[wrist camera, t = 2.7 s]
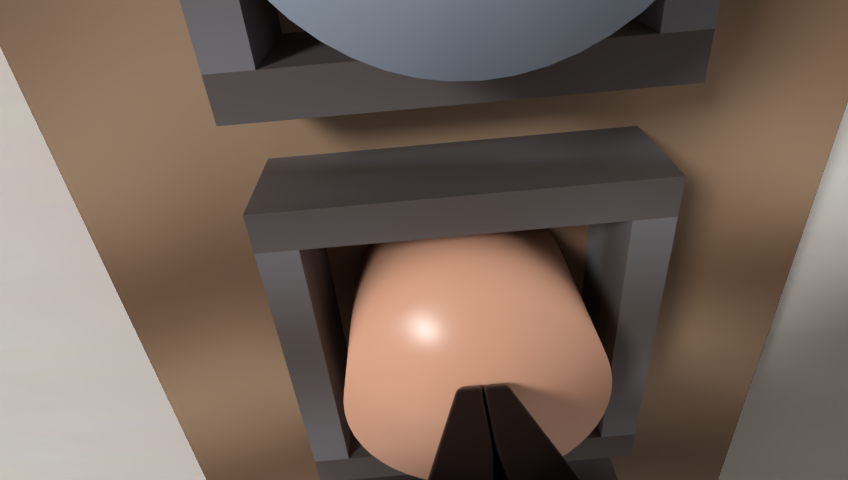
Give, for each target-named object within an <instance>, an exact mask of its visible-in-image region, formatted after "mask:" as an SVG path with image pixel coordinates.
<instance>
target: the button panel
mask: <svg viewBox="0 0 848 480" xmlns="http://www.w3.org/2000/svg"><path fill="white" fill-rule="evenodd" d="M0 47H1V49H2V51H3V53H4V55H5V57H6V59H7V62H8V64H9V66H10V68H11V70H12V72H13V74H14V76H15V78H16V80H17V83H18V85H19V87H20V89H21V91H22V93H23V95H24V97H25V99H26V101H27V104H28V106H29V108H30V110H31V112H32V114H33V116H34V118H35V120H36V122H37V125H38V127H39V129H40V131H41V133H42V135H43V137H44V139H45V141H46V144H47V146H48V148H49V150H50V152H51V154H52V156H53V158H54V160H55V162H56V165H57V167H58V169H59V171H60V173H61V175H62V177H63V179H64V181H65V183H66V186H67V188H68V190H69V192H70V194H71V196H72V198H73V200H74V202H75V204H76V207H77V209H78V211H79V213H80V215H81V217H82V219H83V221H84V223H85V225H86V228H87V230H88V232H89V234H90V236H91V238H92V240H93V242H94V244H95V246H96V249H97V251H98V253H99V255H100V257H101V259H102V261H103V263H104V265H105V267H106V270H107V272H108V274H109V276H110V278H111V280H112V282H113V284H114V286H115V288H116V291H117V293H118V295H119V297H120V299H121V301H122V303H123V305H124V307H125V309H126V312H127V314H128V316H129V318H130V320H131V322H132V324H133V326H134V328H135V330H136V333H137V335H138V337H139V339H140V341H141V343H142V345H143V347H144V349H145V351H146V354H147V356H148V358H149V360H150V362H151V364H152V366H153V368H154V370H155V372H156V375H157V377H158V379H159V381H160V383H161V385H162V387H163V389H164V391H165V394H166V396H167V398H168V400H169V402H170V404H171V406H172V408H173V410H174V412H175V415H176V417H177V419H178V421H179V423H180V425H181V427H182V429H183V431H184V433H185V436H186V438H187V440H188V442H189V444H190V446H191V448H192V450H193V452H194V454H195V457H196V459H197V461H198V463H199V465H200V467H201V469H202V471H203V473H204V475H205V478H206V480H426V479H422V478H418V477H415V476H411V475H408V474H405V473H403V472H401V471H398V470H396V469H394V468H392V467H390V466H388V465H386V464H384V463H383V462H381V461H380V460H378V459H377V458H376V457H374V456H373V455H371V454H370V453H369V452H368V451H367V450H366V449H365V448H364V447H363V446H362V445H361V444H360V442H359V441H358V440H357V439H356V437H355V436H354V434H353V432H352V431H351V429H350V427H349V425H348V422H347V419H346V416H345V411H344V403H343V401H344V387H345V376H346V366H347V356H348V346H349V336H350V326H351V316H352V306H353V296H354V286H355V277H356V272H357V268H358V265H359V262H360V260H361V257H362V255H363V253H364V252H365V250H366V248H367V247H368V245H369V244H374V243H385V242H396V241H408V240H419V239H430V238H442V237H453V236H465V235H476V234H487V233H499V232H510V231H521V230H533V229H544V228H546V229H547V230H548V231H549V232H550V234H551V235H552V236H553V238H554V239H555V241H556V243H557V245H558V246H559V248H560V250H561V253H562V255H563V257H564V259H565V262H566V264H567V266H568V269H569V271H570V273H571V275H572V278H573V280H574V282H575V284H576V287H577V289H578V291H579V294H580V296H581V298H582V300H583V303H584V305H585V307H586V309H587V312H588V314H589V316H590V319H591V321H592V323H593V325H594V328H595V330H596V332H597V334H598V337H599V339H600V341H601V344H602V346H603V348H604V350H605V353H606V355H607V358H608V361H609V364H610V366H611V373H612V391H611V395H610V400H609V403H608V406H607V408H606V410H605V413H604V415H603V416H602V418H601V420H600V421H599V423H598V424H597V426H596V427H595V428H594V429H593V431H592V432H591V433H590V434H589V435H588V437H586V438H585V439H584V440H583V441H582V442H581V443H580V444H579V445H578V446H577V447H575V448H574V449H573V450H571V451H570V452H569V453H567V454H566V455H564V456H563V457H564V459H565V460H566V461H567V462H568V464H569V465H570V466H571V468H572V469H573V470H574V472H575V473H576V474H577V475H578V477H579V478H580V479H581V480H718V478H719V475H720V472H721V469H722V466H723V463H724V460H725V457H726V454H727V451H728V448H729V446H730V443H731V440H732V437H733V434H734V431H735V428H736V425H737V422H738V419H739V416H740V413H741V411H742V408H743V405H744V402H745V399H746V396H747V393H748V390H749V387H750V384H751V381H752V379H753V376H754V373H755V370H756V367H757V364H758V361H759V358H760V355H761V352H762V349H763V346H764V344H765V341H766V338H767V335H768V332H769V329H770V326H771V323H772V320H773V317H774V314H775V312H776V309H777V306H778V303H779V300H780V297H781V294H782V291H783V288H784V285H785V282H786V280H787V277H788V274H789V271H790V268H791V265H792V262H793V259H794V256H795V253H796V250H797V247H798V245H799V242H800V239H801V236H802V233H803V230H804V227H805V224H806V221H807V218H808V215H809V213H810V210H811V207H812V204H813V201H814V198H815V195H816V192H817V189H818V186H819V183H820V180H821V178H822V175H823V172H824V169H825V166H826V163H827V160H828V157H829V154H830V151H831V148H832V146H833V143H834V140H835V137H836V134H837V131H838V128H839V125H840V122H841V119H842V116H843V114H844V111H845V108H846V105H847V102H848V0H655V1H654V2H653V3H652V4H651V5H650V6H649V7H647V8H646V9H645V10H644V11H643V12H642V13H640V14H639V15H638V16H636V17H635V18H633V19H632V20H631V21H629V22H628V23H627V24H625V25H624V26H623V27H621V28H620V29H618V30H617V31H616V32H614V33H613V34H612V35H610V36H608V37H606V38H605V39H603V40H601V41H599V42H598V43H596V44H594V45H592V46H591V47H589V48H587V49H585V50H584V51H582V52H580V53H578V54H575V55H573V56H571V57H568V58H566V59H564V60H561V61H559V62H556V63H554V64H552V65H549V66H547V67H543V68H540V69H536V70H533V71H529V72H526V73H522V74H519V75H515V76H509V77H503V78H496V79H490V80H483V81H450V82H449V81H439V80H430V79H421V78H414V77H410V76H406V75H402V74H397V73H393V72H389V71H385V70H382V69H379V68H377V67H374V66H371V65H369V64H366V63H364V62H361V61H358V60H356V59H353V58H351V57H349V56H347V55H345V54H343V53H341V52H339V51H338V50H336V49H334V48H332V47H330V46H328V45H326V44H325V43H323V42H321V41H319V40H318V39H316V38H315V37H313V36H312V35H311V34H309V33H308V32H306V31H305V30H303V29H302V28H301V27H299V26H298V25H296V24H295V23H294V22H292V21H291V20H289V19H288V18H287V17H286V16H285V15H284V14H282V13H281V12H280V11H279V10H278V9H277V8H276V7H275V6H274V5H272V4H271V3H270V2H269V1H268V0H0Z"/></svg>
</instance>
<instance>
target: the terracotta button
mask: <svg viewBox="0 0 848 480" xmlns="http://www.w3.org/2000/svg"><path fill="white" fill-rule="evenodd" d="M499 384H506V385H508V386H509V387H510V388H511V389H512V391H513V392H514V393H515V395H516V396H517V397H518V398H519V400H520V401H521V402H522V404H523V405H524V406H525V408H526V409H527V410H528V412H529V413H530V414H531V415H532V417H533V418H534V419H535V421H536V422H537V423H538V425H539V426H540V427H541V428H542V430H543V431H544V432H545V434H546V435H547V436H548V438H549V439H550V440H551V442H552V443H553V444H554V445H555V447H556V448H557V449H558V451H559V452H560V453H561V455H562V456H564V455H566V454H567V453H569V452H570V451H571V450H573V449H574V448H575V447H577V446H578V445H579V444H580V443H581V442H582V441H583V440H584V439H585V438H586V437H588V435H589V434H590V433H591V432H592V431H593V429H594V428H595V427H596V426H597V424H598V423H599V421H600V420H601V418H602V416H603V415H604V413H605V410H606V408H607V406H608V403H609V400H610V395H611V391H612V373H611V366H610V364H609V361H608V358H607V355H606V353H605V350H604V348H603V346H602V344H601V341H600V339H599V337H598V334H597V332H596V330H595V328H594V325H593V323H592V321H591V319H590V316H589V314H588V312H587V309H586V307H585V305H584V303H583V300H582V298H581V296H580V294H579V291H578V289H577V287H576V284H575V282H574V280H573V278H572V275H571V273H570V271H569V269H568V266H567V264H566V262H565V259H564V257H563V255H562V253H561V250H560V248H559V246H558V245H557V243H556V241H555V239H554V238H553V236H552V235H551V234H550V232H549V231H548V230H547V229H546V228H544V229H533V230H521V231H510V232H499V233H487V234H476V235H465V236H453V237H442V238H430V239H419V240H408V241H396V242H385V243H374V244H369V245H368V247H367V248H366V250H365V252H364V253H363V255H362V257H361V260H360V262H359V265H358V268H357V272H356V277H355V286H354V296H353V306H352V316H351V326H350V336H349V346H348V356H347V366H346V376H345V387H344V401H343V403H344V411H345V416H346V419H347V422H348V425H349V427H350V429H351V431H352V432H353V434H354V436H355V437H356V439H357V440H358V441H359V442H360V444H361V445H362V446H363V447H364V448H365V449H366V450H367V451H368V452H369V453H370V454H371V455H373V456H374V457H376V458H377V459H378V460H380V461H381V462H383V463H384V464H386V465H388V466H390V467H392V468H394V469H396V470H398V471H401V472H403V473H405V474H408V475H411V476H415V477H418V478H422V479H426V480H428V477H429V473H430V470H431V467H432V464H433V461H434V458H435V455H436V452H437V449H438V446H439V442H440V439H441V436H442V433H443V430H444V427H445V424H446V421H447V418H448V414H449V411H450V408H451V405H452V402H453V399H454V396H455V393H456V391H457V390H458V389H459V388H464V387H476V386H478V387H481V389H482V391H483V388H484V387H485V386H488V385H499Z"/></svg>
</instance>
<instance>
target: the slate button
mask: <svg viewBox="0 0 848 480" xmlns="http://www.w3.org/2000/svg"><path fill="white" fill-rule="evenodd" d="M268 1H269V2H270V3H271V4H272V5H274V6H275V7H276V8H277V9H278V10H279V11H280V12H281V13H282V14H284V15H285V16H286V17H287V18H288V19H289V20H291V21H292V22H294V23H295V24H296V25H298V26H299V27H301V28H302V29H303V30H305V31H306V32H308V33H309V34H311V35H312V36H313V37H315V38H316V39H318V40H319V41H321V42H323V43H325V44H326V45H328V46H330V47H332V48H334V49H336V50H338V51H339V52H341V53H343V54H345V55H347V56H349V57H351V58H353V59H356V60H358V61H361V62H364V63H366V64H369V65H371V66H374V67H377V68H379V69H382V70H385V71H389V72H393V73H397V74H402V75H406V76H410V77H414V78H421V79H430V80H439V81H449V82H450V81H483V80H490V79H496V78H503V77H509V76H515V75H519V74H522V73H526V72H529V71H533V70H536V69H540V68H543V67H547V66H549V65H552V64H554V63H556V62H559V61H561V60H564V59H566V58H568V57H571V56H573V55H575V54H578V53H580V52H582V51H584V50H585V49H587V48H589V47H591V46H592V45H594V44H596V43H598V42H599V41H601V40H603V39H605V38H606V37H608V36H610V35H612V34H613V33H614V32H616V31H617V30H618V29H620V28H621V27H623V26H624V25H625V24H627V23H628V22H629V21H631V20H632V19H633V18H635V17H636V16H638V15H639V14H640V13H642V12H643V11H644V10H645V9H646V8H647V7H649V6H650V5H651V4H652V3H653V2H654V1H655V0H268Z"/></svg>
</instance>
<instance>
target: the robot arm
mask: <svg viewBox="0 0 848 480" xmlns="http://www.w3.org/2000/svg"><path fill="white" fill-rule="evenodd" d="M428 480H581V479H580V478H579V477H578V475H577V474H576V473H575V472H574V470H573V469H572V468H571V466H570V465H569V464H568V462H567V461H566V460H565V459H564V457H563V456H562V455H561V453H560V452H559V451H558V449H557V448H556V447H555V445H554V444H553V443H552V442H551V440H550V439H549V438H548V436H547V435H546V434H545V432H544V431H543V430H542V428H541V427H540V426H539V425H538V423H537V422H536V421H535V419H534V418H533V417H532V415H531V414H530V413H529V412H528V410H527V409H526V408H525V406H524V405H523V404H522V402H521V401H520V400H519V398H518V397H517V396H516V395H515V393H514V392H513V391H512V389H511V388H510V387H509V386H508V385H506V384H499V385H488V386H485V387H484V388H483V391H482V389H481V387H478V386H476V387H464V388H459V389H458V390H457V391H456V393H455V396H454V399H453V402H452V405H451V408H450V411H449V414H448V418H447V421H446V424H445V427H444V430H443V433H442V436H441V439H440V442H439V446H438V449H437V452H436V455H435V458H434V461H433V464H432V467H431V470H430V473H429V477H428Z"/></svg>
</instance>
